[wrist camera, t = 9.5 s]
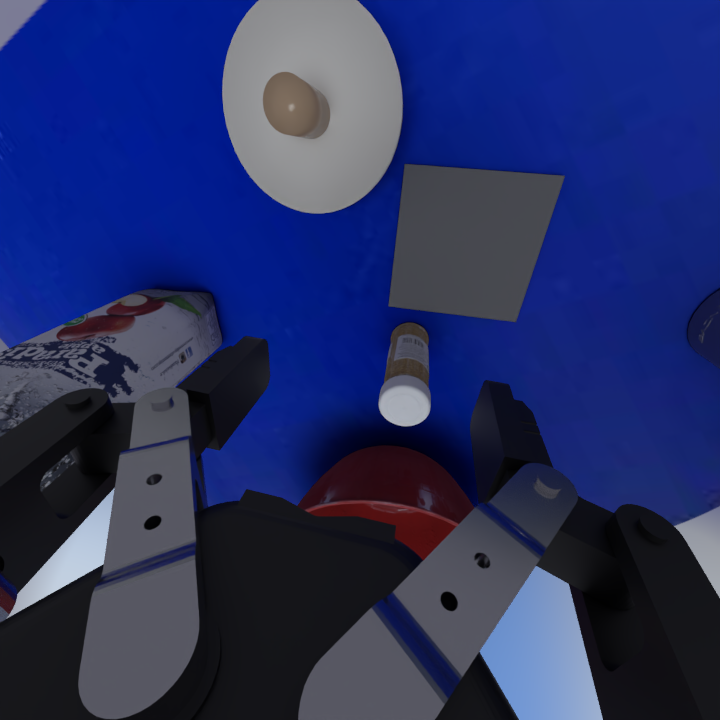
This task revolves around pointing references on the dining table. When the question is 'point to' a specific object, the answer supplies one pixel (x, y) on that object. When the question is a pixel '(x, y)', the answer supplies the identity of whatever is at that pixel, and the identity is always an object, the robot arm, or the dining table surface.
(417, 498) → the mixing bowl
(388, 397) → the sprinkles bottle
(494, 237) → the mat
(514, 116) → the dining table surface
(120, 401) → the juice carton
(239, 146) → the lid
